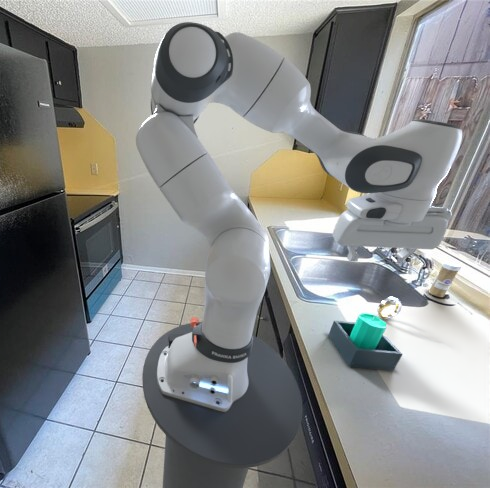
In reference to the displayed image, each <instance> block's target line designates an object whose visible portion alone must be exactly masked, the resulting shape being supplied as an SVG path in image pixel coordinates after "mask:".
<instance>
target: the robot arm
mask: <svg viewBox="0 0 490 488" xmlns="http://www.w3.org/2000/svg"><path fill="white" fill-rule="evenodd" d="M311 96H312V88H311V83H310V81H309V80H308V79H307V78H306V76H305V75H304V74H303V73H302V72H301V71H300V69H299V68H298V67H297V66H296V65H294V63H292V61H290V60H289V59H287V58H286V57H285V56H284V55H282V54H281V53H280V52H278V51H277V50H275V49H274V48H272V47H271V46H269V45H267V44H266V43H263V42H262V41H260V40H258V39H256V38H254V37H252V36H250V35H247V34H245V33H243V32H239V31H238V32H237V31H235V32H231V33H229V34H227V35H225V36H224V35H223V34H222V33H221V32H219V31H215V30H214V29H212V28H211V27H209V26H207V25H205V24H202V23H198V22H193V21H185V22H180V23H177V24H174V25H173V26H172V27H170V28H169V30H167V31H166V33H165V34H164V35H163V36H162V39H161V41H160V43H159V45H158V47H157V50H156V52H155V56H154V61H153V71H152V76H151V80H150V111H151V112H150V113H151V115H150V116H149V117H148V118H146V119H145V120H144V121H143V122H142V124H141V125H140V126H139V128H138V129H137V133H136V135H135V146H136V149H137V151H138V153H139V156H140V158H141V160H142V162H143V164H144V166H145V168H146V169H147V171H148V173H149V175H150V177H151V178H152V180H153V182H154V183H155V185H156V186H157V188H158V189H159V190H160V192H161V194H162V195H163V197H164V198H165V199H166V201H167V202H168V204H169V205H170V206H171V208H172V209H173V211H174V212H175V214H176V215H177V216H178V218H179V219H180V221H181V222H182V223H184V224H185V225H187V226H190V227H191V228H193V229H194V230H195V231H196V232H197V233H198V234H199V235H201V236H202V237H203V238H204V240H205V241H206V242H207V243H208V246H209V247H210V249H209V252H208V254H207V257H206V260H205V267H204V268H205V270H204V293H205V294H204V307H203V313H202V321H200V320H199V318H198V317H197V316H192V317H191V318H190V323H191V327H192V328H193V331H192V332H191V333H188V334H185V335H184V334H169V339H168V341H169V346H167V347H166V348H165V349H164V350H163V351H162V353H161V355H160V358H159V361H158V367H157V382H158V386H159V389H160V391H161V392H162V394H164V395H167V396H171V397H174V398H177V399H181V400H184V401H188V402H191V403H194V404H198V405H201V406H205V407H208V408H211V409H215V410H218V411H222V412H226V411H228V410H229V408H230V407H231V405H232V403H233V402H234V401H235V400H237V399H239V398H240V397H242V396H243V395H244V394H245V392H246V390H247V388H248V382H249V381H248V374H247V360H248V357H249V355H250V352H251V349H252V344H253V336H252V335H253V332H254V327H255V323H256V319H257V315H258V311H259V308H260V306H261V303H262V301H263V298H264V296H265V292H266V289H267V286H268V282H269V279H270V276H271V255H270V244H269V243H270V242H269V236H268V233H267V231H266V230H265V229H264V227H263V225H262V224H261V222H260V221H259V220H258V219H257V217H256V216H255V215H254V214H253V213H252V211H251V210H250V208H249V207H248V206H247V205H246V204H245V202H244V201H243V200H242V199H241V198H240V197H239V195H238V194H237V193H236V192H235V191H234V190H233V188H232V186H231V185H230V184H229V182H228V181H227V179H226V178H225V176H224V174H223V173H222V171H221V170H220V169H219V167H218V165H217V164H216V162H215V161H214V159H213V158H212V156H211V154H210V153H209V152H208V150H207V149H206V147H205V146H204V145H203V143H202V142H201V140H200V139H199V135H198V133H197V132H196V129H195V123H196V122H197V121H198V119H199V117H200V115H201V114H202V113H203V112H204V111H205V109H206V108H207V107H208V105H209V104H214V103H215V104H220V105H224V106H226V107H227V108H230V109H231V110H232V111H234V112H235V113H236V114H237V115H239V116H240V117H242V118H243V119H244V120H246V121H247V122H249V123H250V124H252V125H254V126H255V127H257V128H259V129H262V130H264V131H266V132H269V133H272V134H285V135H287V136H289V137H291V138H294V140H296V141H298V142H299V143H300V144H302V145H303V146H304V147H306V148H307V149H308V150H309V151H311V152H312V153H313V154H314V155H316V156H317V159H318V161H319V164H320V167H321V168H322V170H323V171H324V172H325V173H326V174H327V175H328V176H330V177H332V178H334V179H336V180H337V181H338V182H340V183H341V184H343V185H344V186H346V187H347V188H349V189H350V190H352V191H354V192H357V193H360V194H364V195H360V196H356V197H352V198H349V199H348V200H347V201H346V206H345V207H346V208H347V209H346V210H344V211H343V212H342V213H341V214H340V215H339V217H338V219H337V221H336V224H335V226H334V229H333V231H332V238H333V240H334V241H335V242H336V243H337V244H338V245H339V246H344V247H345V246H346V248H347V250H348V253H347V255H346V256H347V257H346V259H347V260H348V261H349V262H358V260H359V258H360V255H359V254H358V253H357V251H356V250H358V248H359V247H368V248H388V249H389V248H390V249H391V248H392V249H401V250H400V251H398V252H397V253H392V255H391V258H390V261H391V262H392V263H393V264H397V265H398V264H399V265H402V264H403V263H404V261H405V259H407V258H409V257H410V256H411V255H412V254H415V252H416V250H434V249H436V248H438V247H439V246H440V245H441V243H442V241H443V239H444V237H445V235H446V232H447V229H448V224H449V222H450V221H451V219H452V217H453V213H452V211H451V210H450V209H448V207H445V206H438V207H437V206H436V207H435V206H432V204H433V201H434V199H435V198H436V195H437V189H438V186H439V185H440V183H441V182H442V181H443V180H444V179H445V178H446V176H447V175H448V173H449V171H450V169H451V168H452V166H453V164H454V162H455V159H456V157H457V155H458V152H459V150H460V147H461V145H462V141H463V130H462V128H461V127H459V126H458V125H457V124H453V123H448V122H443V121H437V120H429V119H413V120H410V122H409V123H407V125H405V126H402V127H400V128H399V129H397V130H395V131H392V132H390V133H388V134H385V135H381V136H379V137H375V138H373V137H369V136H367V135H365V134H362V133H359V132H355V131H347V130H342V129H340V128H338V126H336V125H335V124H333V123H332V122H331V121H330V120H328V119H327V118H326V117H324V116H323V115H322V114H320V113H319V111H317V109H315V108H314V106H313V104H312V102H311ZM198 322H201V323H200V324H199V323H198ZM161 381H163V382H161ZM216 403H219V404H216Z"/></svg>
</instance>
